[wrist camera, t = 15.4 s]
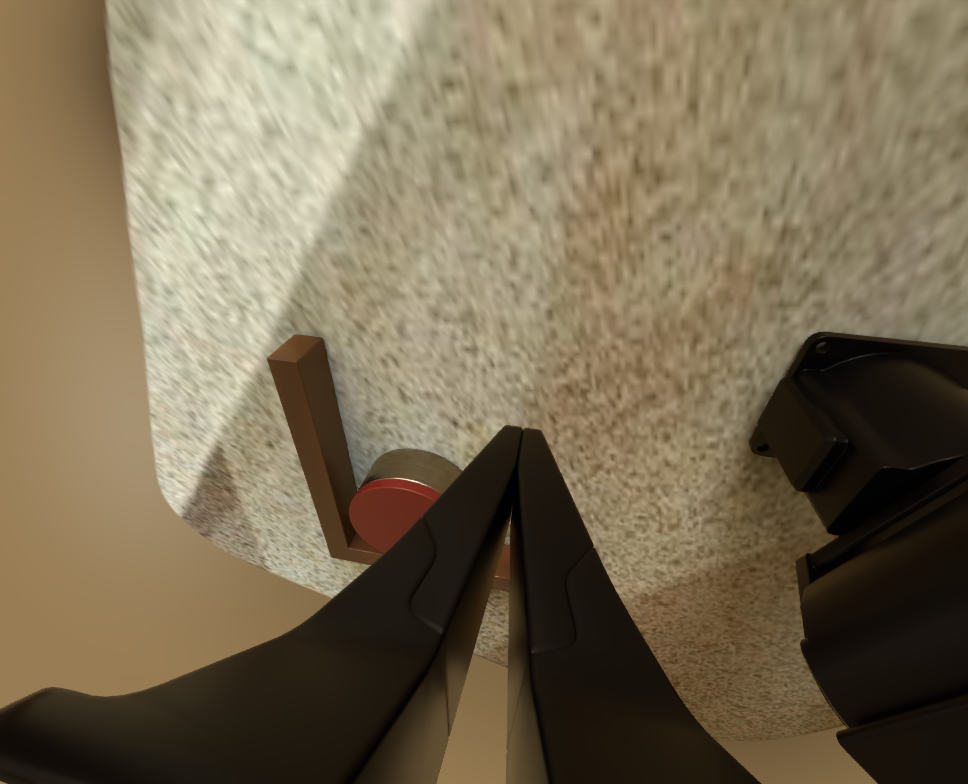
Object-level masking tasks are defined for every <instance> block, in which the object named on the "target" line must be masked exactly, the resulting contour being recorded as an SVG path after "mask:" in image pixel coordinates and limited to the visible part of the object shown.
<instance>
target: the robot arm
mask: <svg viewBox="0 0 968 784" xmlns="http://www.w3.org/2000/svg"><path fill="white" fill-rule="evenodd" d="M822 342H826V343H825V345H824V346H822V347H820V348H816V346H817V345H818V344H820V343H822ZM757 423H758V426H757V428H756V430H755V431H754V433H753V435H752V437H751V439H750V440H749V446H750V448H751V450H752V452H753V453H754V454H756V455H760V456H767V457H774V458H777V460H778V461H779V463H780V465H781V467H782V468H783V470H784V472H785V474H786V476H787V477H788V479H789V481H790V483H791V485H792V486H793V487H794V489H795V490H796V491H800V492H805V494H806V496H807V498H808V499H809V501H810V503H811V504H812V506H813V508H814V510H815V511H816V513H817V515H818V516H819V518H820V520H821V522H822V523H823V525H824V527H825V529H826V530H827V532H828V533H829V534H832V535H838V536H839V537H837V538H836V539H834V540H833V541H831V542H829V543H828V544H826V545H825V546H823V547H822V548H820V549H819V550H817V551H815V552H814V553H812V554H809V553H807V554H805V555H804V556H802V557H801V558H799V559H798V560H796V570H797V579H798V587H799V595H800V603H801V606H800V608H801V613H802V619H803V628H804V636H805V639H803V640H801V643H800V645H801V650H802V654H803V656H804V659H805V661H806V663H807V665H808V667H809V669H810V671H811V673H812V675H813V678H814V680H815V681H816V683H817V685H818V687H819V689H820V690H821V692H822V694H823V696H824V697H825V699H826V701H827V702H828V704H829V705H830V706H831V708H832V709H833V711H834V712H835V713H836V715H837V716H838V718H839V719H840V720H841V721H842V722H843V724H844V725H845V726H846V727H847V728H848V729H844V730H841V731H838V732H837V733H836V737H837V739H838V742H839V743H840V745H841V746H842V747H843V748H844V749H845V750H846V752H847V753H848V754H850V756H851V757H852V758H853V759H854V760H855V761H856V762H857V763H858V764H859V765H860V766H861V767H862V768H863V769H864V770H865V771H866V772H867V773H868V774H869V775H870V776H871V777H872V778H873V779H874V780H875V781H876V782H877V783H878V784H968V347H966V346H957V345H947V344H938V343H928V342H919V341H909V340H899V339H890V338H880V337H871V336H861V335H852V334H842V333H833V332H818V333H815V334H813V335H811V336H810V337H808V339H807V340H806V341H805V343H804V344H803V346H802V348H801V350H800V352H799V353H798V355H797V357H796V359H795V360H794V362H793V364H792V366H791V368H790V369H789V371H788V373H787V375H786V376H785V377H784V378H783V379H782V380H781V381H780V382H779V384H778V386H777V388H776V390H775V391H774V393H773V395H772V397H771V399H770V400H769V402H768V404H767V406H766V407H765V409H764V411H763V413H762V415H761V416H760V418H759V420H758V422H757ZM761 444H764V445H762V446H759V445H761ZM512 505H513V506H512ZM511 512H512V515H511ZM510 518H511V527H510V581H509V641H508V702H507V759H506V760H507V761H506V784H761V783H760V782H759V781H758V780H757V779H756V778H755V777H754V776H753V775H751V774H750V773H749V772H748V771H747V770H746V769H745V768H744V767H743V766H742V765H741V764H740V763H739V762H738V761H737V760H736V759H735V758H734V757H733V756H731V755H730V754H729V753H728V752H727V751H726V750H725V749H724V748H723V747H722V746H721V745H720V744H719V743H718V742H717V741H716V740H715V739H714V738H713V737H712V736H711V735H710V734H709V733H708V732H707V731H706V730H705V729H704V728H703V727H702V726H701V725H700V723H699V722H698V721H697V720H696V719H695V717H694V716H693V715H692V714H691V712H690V711H689V710H688V708H687V707H686V706H685V704H684V703H683V701H682V700H681V699H680V697H679V695H678V694H677V692H676V691H675V689H674V687H673V686H672V684H671V683H670V681H669V679H668V678H667V676H666V674H665V673H664V671H663V669H662V668H661V666H660V664H659V663H658V661H657V659H656V658H655V656H654V654H653V653H652V651H651V649H650V648H649V646H648V644H647V643H646V641H645V639H644V638H643V636H642V635H641V633H640V631H639V630H638V628H637V626H636V625H635V623H634V621H633V620H632V618H631V616H630V615H629V613H628V611H627V609H626V608H625V606H624V604H623V602H622V601H621V599H620V597H619V595H618V594H617V592H616V590H615V588H614V586H613V584H612V582H611V580H610V578H609V576H608V574H607V572H606V570H605V568H604V566H603V564H602V562H601V559H600V557H599V555H598V553H597V551H596V549H595V548H593V547H594V545H593V542H592V540H591V538H590V536H589V534H588V531H587V529H586V527H585V525H584V523H583V520H582V518H581V516H580V514H579V512H578V509H577V507H576V505H575V503H574V501H573V498H572V496H571V494H570V492H569V490H568V488H567V485H566V483H565V481H564V479H563V477H562V474H561V472H560V470H559V468H558V466H557V463H556V461H555V459H554V457H553V455H552V452H551V450H550V448H549V446H548V444H547V441H546V439H545V437H544V435H543V433H542V431H541V430H538V429H531V428H524V429H522V428H521V427H517V426H510V425H506V426H504V427H503V428H502V429H501V430H500V431H499V432H498V433H497V434H496V436H495V437H494V438H493V439H492V440H491V441H490V442H489V443H488V444H487V445H486V446H485V448H484V449H483V450H482V451H481V452H480V453H479V454H478V455H477V456H476V457H475V458H474V459H473V461H472V462H471V463H470V464H469V465H468V466H467V467H466V468H465V469H464V470H463V471H462V472H461V474H460V475H459V476H458V477H457V478H456V479H455V480H454V481H453V482H452V483H451V484H450V486H449V487H448V488H447V489H446V490H445V491H444V492H443V493H442V494H441V495H440V496H439V497H438V499H437V500H436V501H435V502H434V503H433V504H432V505H431V506H430V507H429V508H428V509H427V510H426V512H425V513H424V514H423V515H422V517H420V518H419V519H418V520H417V521H416V522H415V523H414V524H413V525H412V527H411V528H410V529H409V530H408V531H407V532H406V533H405V534H404V535H403V536H402V537H401V538H400V539H399V540H398V541H397V542H396V543H395V544H394V545H393V546H392V547H391V548H390V549H389V550H388V551H387V552H385V553H384V554H383V555H382V556H381V557H380V558H379V559H378V560H377V561H375V562H374V563H373V564H372V565H371V566H370V567H369V568H368V569H366V570H365V571H364V572H363V573H362V574H361V575H359V576H358V577H357V578H356V579H355V580H354V581H352V582H351V583H350V584H349V585H348V586H347V587H345V588H344V589H343V590H342V591H341V592H340V593H338V594H337V595H336V596H335V597H334V598H333V599H331V600H330V601H329V602H328V603H327V604H326V605H324V606H323V607H322V608H321V609H320V610H319V611H317V612H316V613H315V614H314V615H313V616H311V617H310V618H309V619H307V620H306V621H304V622H303V623H302V624H300V625H299V626H297V627H295V628H294V629H292V630H291V631H289V632H287V633H285V634H283V635H282V636H279V637H277V638H275V639H272V640H270V641H267V642H265V643H262V644H260V645H258V646H255V647H252V648H250V649H247V650H245V651H242V652H240V653H237V654H235V655H232V656H230V657H228V658H225V659H222V660H220V661H217V662H215V663H213V664H210V665H208V666H205V667H203V668H200V669H198V670H195V671H193V672H190V673H188V674H185V675H183V676H180V677H178V678H175V679H173V680H170V681H168V682H165V683H163V684H160V685H157V686H154V687H151V688H148V689H146V690H143V691H139V692H134V693H130V694H126V695H119V696H109V697H102V696H92V695H89V694H85V693H80V692H77V691H73V690H68V689H64V688H56V687H50V688H44V689H41V690H39V691H37V692H34V693H32V694H30V695H28V696H26V697H24V698H22V699H20V700H17V701H15V702H13V703H11V704H9V705H7V706H5V707H3V708H1V709H0V781H2V782H5V783H7V784H436V782H437V779H438V775H439V772H440V768H441V764H442V761H443V758H444V754H445V750H446V747H447V743H448V737H449V736H450V733H451V729H452V725H453V722H454V718H455V715H456V711H457V707H458V704H459V700H460V697H461V693H462V690H463V686H464V683H465V679H466V675H467V672H468V669H469V665H470V662H471V658H472V655H473V651H474V647H475V644H476V640H477V637H478V633H479V630H480V626H481V623H482V619H483V616H484V612H485V608H486V605H487V601H488V598H489V594H490V591H491V587H492V584H493V580H494V577H495V573H496V569H497V566H498V562H499V559H500V555H501V552H502V548H503V545H504V541H505V538H506V534H507V530H508V526H509V522H510Z"/></svg>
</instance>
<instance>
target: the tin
mask: <svg viewBox="0 0 968 784" xmlns="http://www.w3.org/2000/svg"><path fill="white" fill-rule="evenodd" d="M461 472H462V471H461V470H460V469H459V468H458V467H457V466H455V465H454V464H453V463H451V462H450V461H448V460H447V459H445V458H443V457H441V456H439V455H436V454H433V453H430V452H427V451H423V450H417V449H399V450H394V451H390V452H388V453H385V454H384V455H382V456H380V457H379V458H378V459H377V460H376V461H375V462H374V464H373V465H372V467H371V469H370V471H369V473H368V474H367V476H366V478H365V480H364V482H363V484H362V485H361V487H360V489H359V490H358V492H357V493H356V494H355V496H354V498H353V500H352V502H351V504H350V507H349V517H350V521H351V523H352V525H353V527H354V529H355V530H356V532H357V533H358V534H359V535H360V536H361V537H362V538H363V539H364V540H365V541H366V542H367V543H368V544H370V545H371V546H372V547H374V548H375V549H377V550H379V551H381V552H382V553H385V552H387V551H388V550H389V549H390V548H391V547H392V546H393V545H394V544H395V543H396V542H397V541H398V540H399V539H400V538H401V537H402V536H403V535H404V534H405V533H406V532H407V531H408V530H409V529H410V528H411V527H412V525H413V524H414V523H415V522H416V521H417V520H418V519H419V518H420V517H422V515H423V514H424V513H425V512H426V510H427V509H428V508H429V507H430V506H431V505H432V504H433V503H434V502H435V501H436V500H437V499H438V497H439V496H440V495H441V494H442V493H443V492H444V491H445V490H446V489H447V488H448V487H449V486H450V484H451V483H452V482H453V481H454V480H455V479H456V478H457V477H458V476H459V475H460V474H461Z"/></svg>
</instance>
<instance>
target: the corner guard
mask: <svg viewBox="0 0 968 784" xmlns="http://www.w3.org/2000/svg"><path fill="white" fill-rule="evenodd" d="M267 361H268V364H269V367H270V370H271V373H272V376H273V379H274V382H275V385H276V388H277V391H278V395H279V398H280V401H281V404H282V407H283V410H284V413H285V416H286V419H287V422H288V425H289V428H290V432H291V435H292V438H293V441H294V444H295V447H296V450H297V453H298V456H299V459H300V462H301V465H302V469H303V472H304V475H305V478H306V481H307V484H308V487H309V490H310V493H311V496H312V499H313V502H314V506H315V509H316V512H317V515H318V518H319V521H320V524H321V527H322V530H323V533H324V536H325V539H326V542H327V546H328V549H329V552H330V556H331V557H332V558H337V559H342V560H347V561H353V562H358V563H363V564H368V565H372V564H373V563H374V562H375V561H377V560H378V559H379V558H380V557H381V556H382V555H383V554H384V553H382V552H381V551H379V550H377V549H375V548H374V547H372V546H371V545H370V544H368V543H367V542H366V541H365V540H364V539H363V538H362V537H361V536H360V535H359V534H358V533H357V532H356V530H355V529H354V527H353V525H352V523H351V521H350V517H349V507H350V504H351V502H352V500H353V498H354V496H355V494H356V493H357V490H356V485H355V481H354V476H353V472H352V467H351V463H350V459H349V454H348V450H347V445H346V441H345V436H344V432H343V427H342V423H341V418H340V414H339V409H338V405H337V400H336V396H335V391H334V387H333V382H332V378H331V373H330V369H329V364H328V360H327V355H326V351H325V346H324V342H323V338H320V337H312V336H304V335H294V336H292V337H291V338H290V339H289V340H288V341H286V342H285V343H284V344H283V345H282V346H281V347H279V348H278V349H277V350H276V351H275V352H273V353H272V354H271V355H270V356H269V357H268V358H267ZM509 581H510V545H505V544H504V545H503V548H502V552H501V555H500V559H499V562H498V566H497V569H496V573H495V577H494V580H493V584H492V587H491V589H497V590H502V591H507V592H509Z"/></svg>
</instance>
